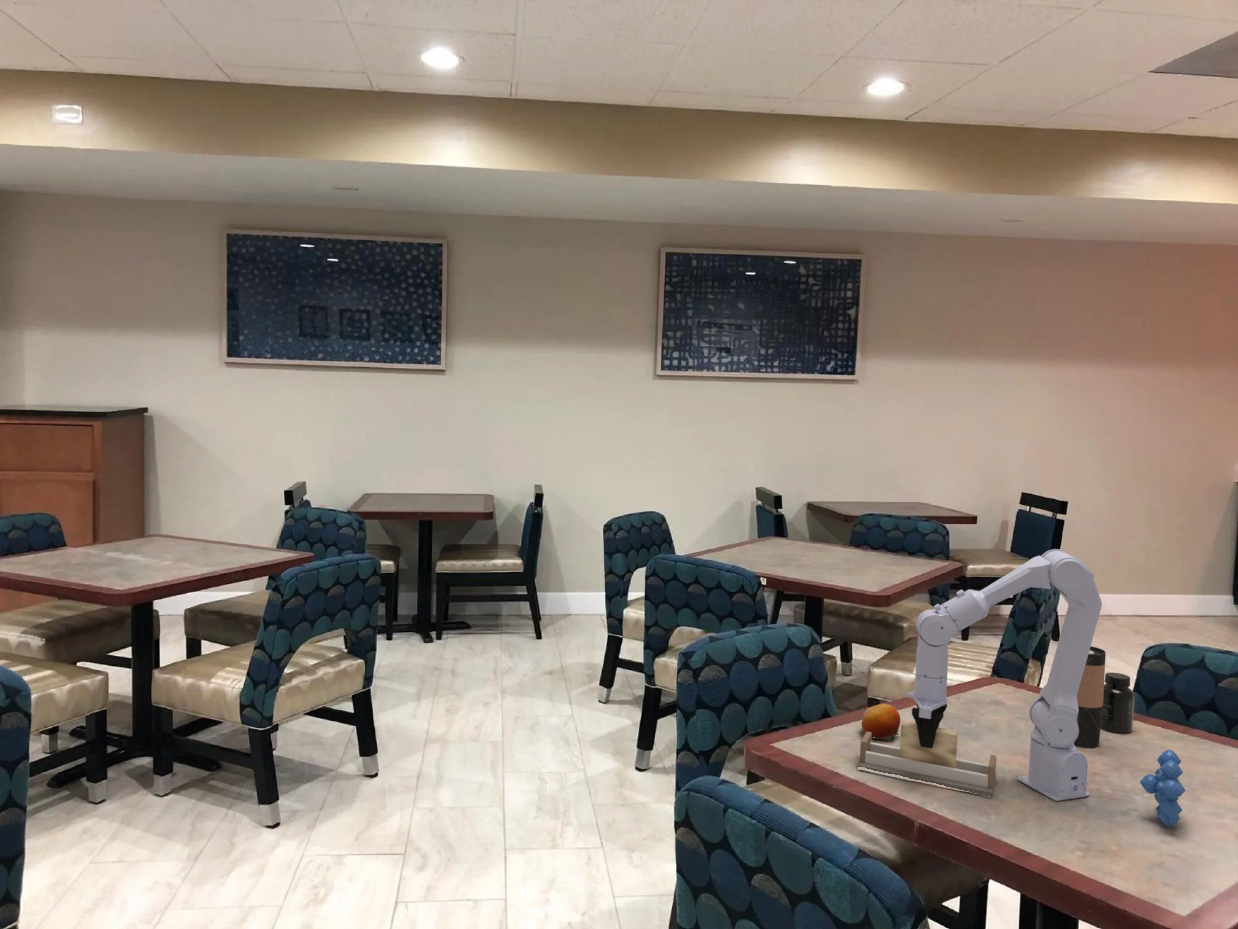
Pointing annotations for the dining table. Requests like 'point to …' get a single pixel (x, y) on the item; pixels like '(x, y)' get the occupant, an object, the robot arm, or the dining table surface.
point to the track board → (929, 768)
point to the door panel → (938, 754)
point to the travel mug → (1091, 699)
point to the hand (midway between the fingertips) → (927, 743)
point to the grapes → (1166, 787)
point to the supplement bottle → (1117, 704)
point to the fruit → (881, 721)
